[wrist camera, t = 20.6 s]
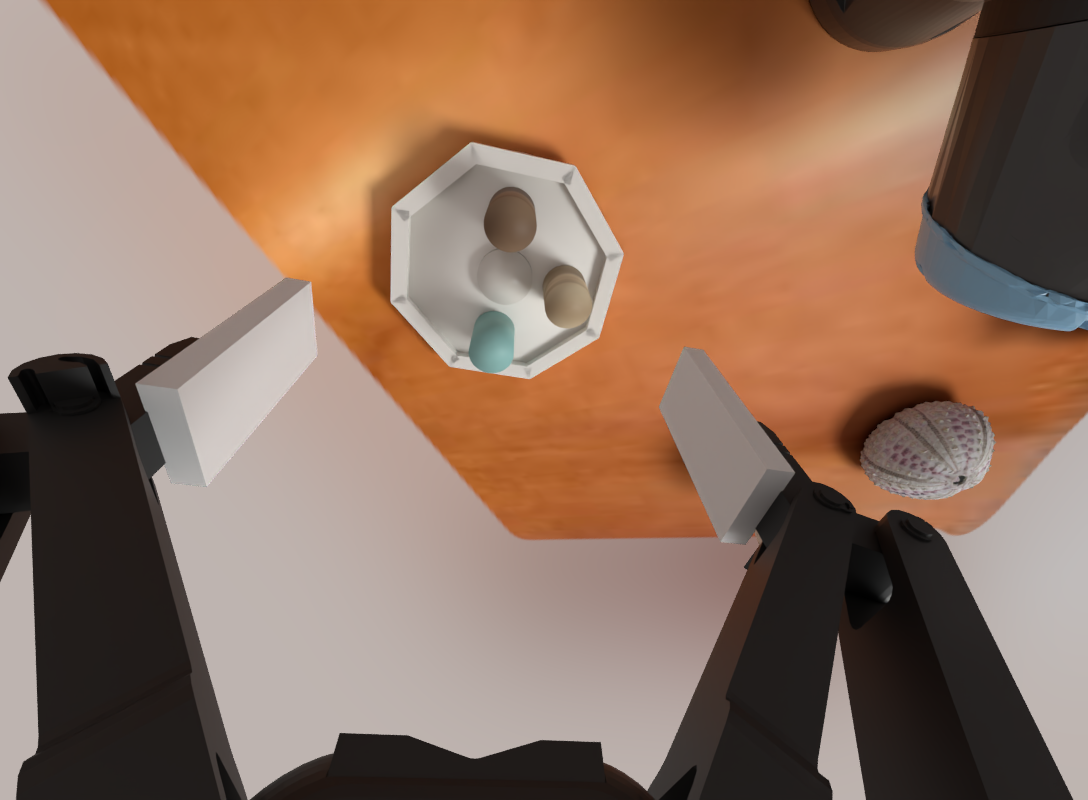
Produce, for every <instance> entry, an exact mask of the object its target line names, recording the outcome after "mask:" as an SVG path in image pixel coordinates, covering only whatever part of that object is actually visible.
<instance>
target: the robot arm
mask: <svg viewBox="0 0 1088 800" xmlns="http://www.w3.org/2000/svg"><path fill="white" fill-rule="evenodd" d="M809 1H810V4H811V6H812V9H813V11H814V13H815V15H816V17H817V19H818V20H819V22H820V23H821V25H822V26H823V27H824V29H825V30H826V31H827V32H828V33H829V34H830V35H831V36H832V37H833V38H834V39H836V40H837V41H839V42H840V43H842V44H844V45H846V46H848V47H850V48H853V49H856V50H860V51H867V52H881V51H889V50H895V49H900V48H906V47H911V46H915V45H919V44H922V43H925V42H927V41H930V40H932V39H935V38H937V37H939V36H941V35H943V34H945V33H947V32H949V31H951V30H953V29H954V28H956V27H958V26H959V25H961V24H962V23H964V22H965V21H967V20H968V19H969V18H971V17H972V16H974V15H975V14H977V13H978V12H979V11H981V10H982V11H981V14H980V18H979V21H978V25H977V28H976V32H975V35H974V37H975V38H973V40H972V44H971V47H970V51H969V54H968V58H967V61H966V65H965V68H964V72H963V75H962V79H961V82H960V86H959V89H958V92H957V96H956V99H955V102H954V106H953V109H952V112H951V116H950V119H949V122H948V126H947V129H946V132H945V136H944V139H943V142H942V146H941V149H940V153H939V156H938V159H937V163H936V166H935V169H934V173H933V176H932V179H931V183H930V186H929V188H928V190H927V191H926V192H925V194H924V196H923V199H922V204H921V208H922V214H923V217H922V221H921V225H920V230H919V234H918V238H917V243H916V247H915V261H916V265H917V267H918V269H919V270H920V272H921V273H922V274H923V275H924V276H925V279H926V281H927V282H928V283H929V284H930V285H931V286H932V287H934V288H935V289H936V290H937V291H939V292H940V293H942V294H943V295H945V296H947V297H948V298H950V299H952V300H954V301H956V302H958V303H960V304H962V305H964V306H966V307H969V308H971V309H974V310H977V311H979V312H982V313H985V314H988V315H991V316H994V317H997V318H1001V319H1004V320H1008V321H1012V322H1015V323H1020V324H1024V325H1029V326H1034V327H1039V328H1046V329H1053V330H1060V331H1072V330H1074V329H1076V328H1078V327H1080V328H1083V329H1086V330H1088V0H809ZM314 321H315V320H314V309H313V298H312V287H311V282H309V281H303V280H297V279H292V278H285V279H283V280H282V281H281V282H279V283H278V284H277V285H275V286H274V287H272V288H271V289H269V290H268V291H267V292H265V293H264V294H262V295H261V296H259V297H258V298H256V299H255V300H254V301H252V302H251V303H249V304H248V305H246V306H245V307H244V308H242V309H241V310H239V311H238V312H237V313H235V314H234V315H232V316H231V317H230V318H228V319H227V320H225V321H224V322H222V323H221V324H220V325H218V326H217V327H215V328H214V329H212V330H211V331H210V332H208V333H207V334H205V335H204V336H202V337H201V338H194V337H190V338H188V339H184V340H182V341H179V342H176V343H173V344H170V345H168V346H167V347H166V348H164V349H162V350H161V351H159V352H158V353H156V354H155V357H153V356H152V357H150V358H149V359H147V360H146V361H144V362H143V364H142V365H138V366H136V367H135V368H134V369H132V370H130V371H129V372H127V373H126V374H124V375H123V376H121V377H120V378H118V379H117V380H116V381H114V379H113V376H112V373H111V371H110V368H109V366H108V364H107V362H106V361H105V360H104V359H103V358H101V357H98V356H95V355H91V354H79V353H73V354H57V355H52V356H47V357H42V358H38V359H35V360H32V361H29V362H26V363H23V364H22V365H20V366H18V367H17V368H15V369H13V370H12V371H11V373H10V375H9V376H8V379H9V381H10V383H11V385H12V386H13V388H14V390H15V392H16V394H17V396H18V397H19V399H20V401H21V403H22V405H23V407H24V408H25V410H26V412H25V413H5V414H4V413H3V414H0V581H1V579H2V577H3V575H4V572H5V570H6V568H7V566H8V563H9V561H10V559H11V557H12V555H13V552H14V550H15V548H16V546H17V543H18V541H19V539H20V537H21V534H22V532H23V530H24V528H25V526H26V523H27V521H28V519H29V517H30V515H31V525H32V526H31V527H32V528H31V529H32V558H33V586H34V613H35V614H34V616H35V645H36V674H37V703H38V733H39V739H38V748H37V751H36V754H35V755H34V756H32V757H30V758H29V759H27V760H26V761H24V762H23V764H22V767H21V769H20V772H19V775H18V782H17V794H16V800H247V796H246V793H245V790H244V787H243V784H242V781H241V778H240V775H239V772H238V769H237V767H236V764H235V761H234V758H233V755H232V752H231V749H230V745H229V742H228V738H227V735H226V732H225V728H224V724H223V721H222V718H221V714H220V710H219V707H218V704H217V700H216V697H215V693H214V689H213V686H212V682H211V679H210V676H209V672H208V668H207V665H206V662H205V658H204V654H203V651H202V648H201V644H200V640H199V637H198V633H197V630H196V626H195V623H194V620H193V616H192V613H191V609H190V606H189V602H188V598H187V595H186V591H185V588H184V585H183V581H182V577H181V574H180V571H179V567H178V563H177V560H176V556H175V553H174V549H173V546H172V542H171V539H170V535H169V532H168V528H167V525H166V521H165V518H164V514H163V511H162V507H161V504H160V500H159V497H158V493H157V490H156V487H155V484H154V481H153V479H152V476H153V475H154V474H155V473H156V472H157V471H158V470H159V469H160V468H161V467H162V466H163V465H165V468H166V470H167V473H168V476H169V479H170V482H171V483H175V484H185V485H194V486H203V487H207V486H208V485H209V484H210V483H211V481H212V480H213V479H214V478H215V477H216V475H217V474H218V473H219V472H220V471H221V469H222V468H223V467H224V466H225V465H226V463H227V462H228V461H229V460H230V459H231V458H232V456H233V455H234V454H235V453H236V452H237V450H238V449H239V448H240V447H241V446H242V445H243V443H244V442H245V441H246V440H247V438H248V437H249V436H250V435H251V434H252V433H253V431H254V430H255V429H256V428H257V427H258V425H259V424H260V423H261V422H262V421H263V420H264V418H265V417H266V416H267V415H268V413H269V412H270V411H271V410H272V409H273V408H274V407H275V405H276V404H277V403H278V402H279V401H280V399H281V398H282V397H283V396H284V395H285V394H286V392H287V391H288V390H289V389H290V388H291V386H292V385H293V384H294V383H295V382H296V380H297V379H298V378H299V377H300V376H301V375H302V373H303V372H304V371H305V370H306V369H307V367H308V366H309V365H310V364H311V363H312V361H313V360H314V359H315V358H316V357H317V343H316V332H315V322H314ZM659 408H660V411H661V413H662V415H663V417H664V419H665V421H666V424H667V426H668V428H669V430H670V432H671V435H672V437H673V439H674V441H675V443H676V446H677V448H678V450H679V452H680V454H681V457H682V459H683V461H684V463H685V465H686V468H687V470H688V472H689V474H690V476H691V479H692V481H693V483H694V485H695V487H696V489H697V492H698V494H699V496H700V498H701V500H702V503H703V505H704V507H705V509H706V511H707V514H708V516H709V518H710V520H711V522H712V525H713V527H714V529H715V531H716V533H717V536H718V538H719V540H720V542H726V543H736V544H746V543H747V542H748V540H749V539H750V538H751V536H752V535H753V533H754V532H755V530H757V532H758V534H759V536H760V538H761V539H762V543H761V544H760V545H759V547H758V548H757V550H756V551H755V552H754V554H753V555H752V556H751V558H750V559H749V561H748V562H747V563H746V565H745V566H744V568H745V569H747V572H746V575H745V577H744V579H743V581H742V584H741V586H740V589H739V591H738V593H737V595H736V598H735V600H734V602H733V605H732V607H731V609H730V611H729V614H728V616H727V619H726V621H725V623H724V626H723V628H722V630H721V632H720V635H719V637H718V639H717V642H716V644H715V646H714V648H713V651H712V653H711V655H710V658H709V660H708V662H707V665H706V667H705V669H704V672H703V674H702V676H701V679H700V681H699V683H698V686H697V688H696V690H695V692H694V695H693V697H692V699H691V702H690V704H689V706H688V708H687V711H686V713H685V716H684V718H683V720H682V722H681V725H680V727H679V729H678V732H677V734H676V736H675V739H674V741H673V743H672V746H671V748H670V750H669V752H668V755H667V757H666V759H665V761H664V763H663V765H662V767H661V769H660V771H659V772H658V774H657V776H656V777H655V779H654V780H653V782H652V784H651V785H650V787H649V789H648V791H646V790H645V789H644V788H643V787H642V786H641V785H640V784H639V783H637V782H636V781H635V780H633V779H632V778H630V777H629V776H627V775H626V774H625V773H623V772H622V771H620V770H618V769H616V768H614V767H612V766H610V765H608V764H605V763H603V757H602V749H601V742H578V741H577V742H576V741H549V740H540V741H536V742H533V743H530V744H526V745H523V746H520V747H516V748H513V749H509V750H506V751H503V752H499V753H496V754H493V755H489V756H486V757H482V758H478V759H471V758H468V757H465V756H462V755H459V754H456V753H454V752H451V751H448V750H446V749H443V748H440V747H438V746H435V745H432V744H429V743H427V742H424V741H421V740H419V739H416V738H413V737H410V736H407V735H378V734H348V733H340V734H339V738H338V741H337V744H336V748H335V751H334V753H333V754H329V755H326V756H322V757H320V758H317V759H315V760H312V761H310V762H308V763H305V764H303V765H301V766H299V767H297V768H296V769H294V770H292V771H290V772H288V773H287V774H284V775H283V776H281V777H280V778H278V779H277V780H276V781H274V782H272V783H271V784H270V785H268V786H267V787H265V788H264V789H263V790H261V791H260V792H259V793H258V794H256V795H255V796H254V797H253V798H252V799H250V800H832V789H831V786H830V783H829V780H827V779H826V778H825V777H823V776H822V775H821V774H820V773H819V772H818V769H817V766H818V765H817V764H818V755H819V749H820V743H821V736H822V730H823V724H824V718H825V712H826V705H827V699H828V692H829V686H830V680H831V674H832V667H833V661H834V655H835V648H836V642H837V636H838V633H839V639H840V645H841V651H842V657H843V663H844V669H845V675H846V681H847V687H848V693H849V699H850V705H851V711H852V717H853V723H854V730H855V736H856V742H857V748H858V753H859V760H860V766H861V772H862V778H863V783H864V790H865V796H866V800H1073V798H1072V796H1071V794H1070V792H1069V790H1068V788H1067V786H1066V784H1065V782H1064V780H1063V778H1062V776H1061V774H1060V772H1059V770H1058V768H1057V766H1056V764H1055V762H1054V760H1053V758H1052V756H1051V754H1050V752H1049V750H1048V748H1047V746H1046V743H1045V742H1044V739H1043V737H1042V735H1041V733H1040V731H1039V729H1038V727H1037V725H1036V723H1035V721H1034V719H1033V717H1032V715H1031V713H1030V711H1029V709H1028V707H1027V705H1026V703H1025V701H1024V699H1023V697H1022V695H1021V693H1020V691H1019V689H1018V687H1017V685H1016V683H1015V681H1014V679H1013V677H1012V675H1011V673H1010V671H1009V669H1008V667H1007V665H1006V663H1005V660H1004V659H1003V657H1002V654H1001V652H1000V650H999V648H998V646H997V645H996V642H995V640H994V638H993V636H992V634H991V632H990V630H989V628H988V626H987V624H986V622H985V620H984V618H983V616H982V614H981V612H980V610H979V608H978V606H977V604H976V602H975V600H974V598H973V596H972V594H971V592H970V590H969V588H968V586H967V584H966V582H965V580H964V577H963V576H962V573H961V571H960V569H959V567H958V565H957V564H956V561H955V559H954V557H953V555H952V553H951V551H950V549H949V547H948V545H947V543H946V542H945V540H944V539H943V537H942V536H941V535H940V534H939V533H938V532H937V531H936V530H935V529H934V528H933V527H932V526H931V525H930V524H929V523H927V522H925V520H923V519H921V518H919V517H916V516H914V515H912V514H910V513H907V512H904V511H900V510H891V511H889V512H888V513H887V514H886V515H885V516H884V517H883V518H882V519H881V520H880V521H877V520H874V519H871V518H868V517H865V516H863V515H860V514H857V513H856V510H855V508H854V506H853V505H852V503H851V502H850V501H849V500H848V499H847V498H846V497H844V496H843V495H842V494H841V493H839V492H838V491H836V490H834V489H833V488H831V487H828V486H826V485H824V484H821V483H816V482H812V481H811V479H810V478H809V477H808V476H807V474H806V473H805V472H804V470H803V469H802V468H801V467H800V465H799V464H798V463H797V461H796V460H795V459H794V458H793V456H792V455H790V452H789V451H788V450H787V449H786V447H785V446H783V443H782V442H781V441H780V440H779V438H778V437H777V436H776V434H775V433H774V432H773V431H771V430H770V429H769V428H768V427H766V426H765V425H764V424H763V423H761V422H757V421H756V420H755V418H754V417H753V416H752V414H751V413H750V412H749V410H748V409H747V408H746V406H745V405H744V404H743V402H742V401H741V400H740V398H739V397H738V396H737V394H736V393H735V392H734V390H733V389H732V388H731V386H730V385H729V384H728V382H727V381H726V380H725V378H724V377H723V376H722V374H721V373H720V372H719V370H718V369H717V368H716V366H715V365H714V364H713V362H712V361H711V360H710V358H709V357H708V356H707V354H706V353H705V352H704V350H701V349H695V348H689V347H684V348H683V350H682V353H681V355H680V358H679V360H678V362H677V365H676V367H675V370H674V372H673V374H672V377H671V379H670V382H669V384H668V386H667V389H666V391H665V394H664V396H663V398H662V401H661V403H660V405H659Z"/></svg>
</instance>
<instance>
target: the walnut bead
mask: <svg viewBox="0 0 1088 800" xmlns="http://www.w3.org/2000/svg"><path fill="white" fill-rule="evenodd" d="M536 229H537V221H536V213H535V206H534V203H533V201H532V199H531V197H530V196H529V195H528V194H527V193H526V192H525V191H523V190H522V189H520V188H517V187H505V188H502V189H500V190H499V191H497V192H496V193H495V194H494V195H493V197H492V198H491V200H490V203H489V205H488V208H487V211H486V214H485V217H484V230H485V234H486V236H487V238H488V240H489V241H490V242H491V244H492V245H493V246H495V247H496V248H497V249H499V250H501V251H504V252H518V251H521V250H523V249H525V248H526V247H527V246H528V245H529V244H530V243H531V242H532V241H533V239H534V237H535V234H536Z"/></svg>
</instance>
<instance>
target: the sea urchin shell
mask: <svg viewBox="0 0 1088 800" xmlns="http://www.w3.org/2000/svg"><path fill="white" fill-rule="evenodd" d="M988 418H989V417H987V416H983V412H982V411H978V410H976V409H975V407H974V406H969V407H968V406H967V405H965V404H964V405H962V404H961V403H952V402H950V401H944V402H939V401H934V402H931V403H929V402H924V403H923V404H920V405H919V404H916V406H915V407H914V408H907V409H906V408H905V409H904V410H903V411H902V412H899V413H895V416H894V417H893V418H892V419H889V420H884V421H883V422H882V423H881V424H878V426H877V429H875V430H874V431H872V433H871V434H870V435H869V438H868V439H866V442H864V446H865V448H863V450H862V451H861V452H860V453H861V456H860V458H861V459H860V460H859V461H860V462H861V463H862V464H861V466H862V468H863V469H864V470H865V474H866V475H867V476H868V477H869V479H870V480H871V481H873V482H874V485H877V486H880V488H881V489H884V490H888V491H889V492H890V493H894V494H898V495H901V496H902V497H905V496H908V497H910V498H912V499H913V498H916V499H924V500H927V499H942V498H948V497H949V496H950V497H952V496H953V495H954V494H956V493H958V492H960V491H962V490H965V489H968V488H973V487H974V486H975V485H977V484H978V483H979V482H980V481H981V480H982V479H983V477H984V475H985V473H986V472H988V471H989V467H990V466H991V465H990V461H991V457H992V453H993V452H994V451H995V450H993V445H994V444H995V443H996V442H995V441H994V439H993V437H994V435H995V434H994V433H993V432H992V431H991V426H990V423H989V422H988Z"/></svg>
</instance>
